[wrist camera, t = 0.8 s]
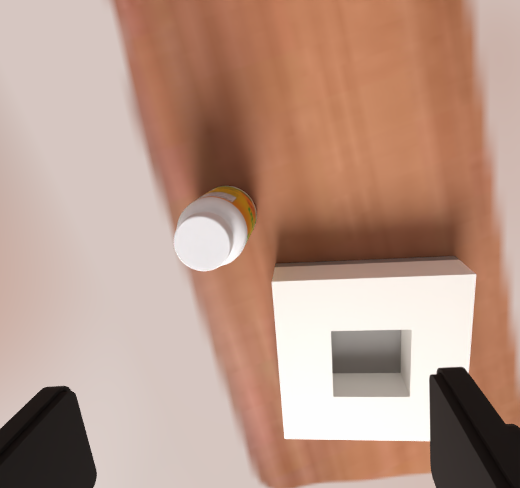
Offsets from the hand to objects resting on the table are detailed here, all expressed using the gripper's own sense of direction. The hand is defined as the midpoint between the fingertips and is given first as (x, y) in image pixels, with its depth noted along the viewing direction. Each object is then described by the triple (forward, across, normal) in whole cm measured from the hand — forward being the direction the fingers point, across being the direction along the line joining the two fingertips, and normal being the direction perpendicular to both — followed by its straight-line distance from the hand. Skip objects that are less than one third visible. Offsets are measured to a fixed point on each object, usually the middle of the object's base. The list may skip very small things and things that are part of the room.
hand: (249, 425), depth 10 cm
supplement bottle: (+26, +5, -1) cm, 27 cm away
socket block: (+27, -6, +12) cm, 30 cm away
